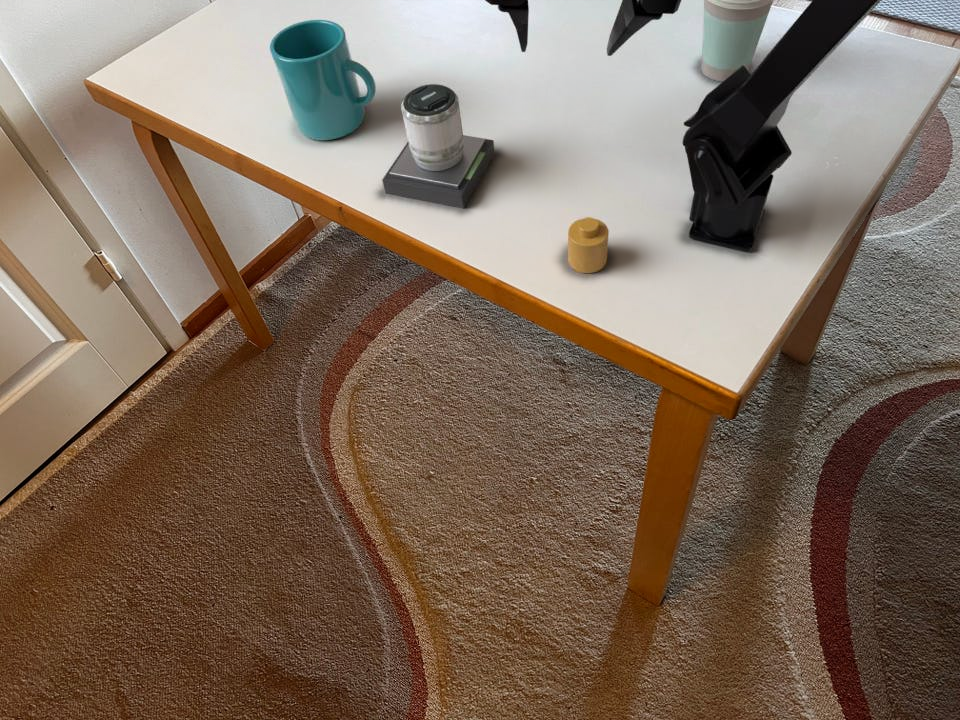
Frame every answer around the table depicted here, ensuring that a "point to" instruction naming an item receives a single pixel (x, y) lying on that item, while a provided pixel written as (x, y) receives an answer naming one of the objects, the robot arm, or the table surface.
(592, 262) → the brass weight
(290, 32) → the cup
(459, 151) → the camera lens
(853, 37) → the table surface
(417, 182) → the scale
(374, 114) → the table surface
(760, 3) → the coffee cup
